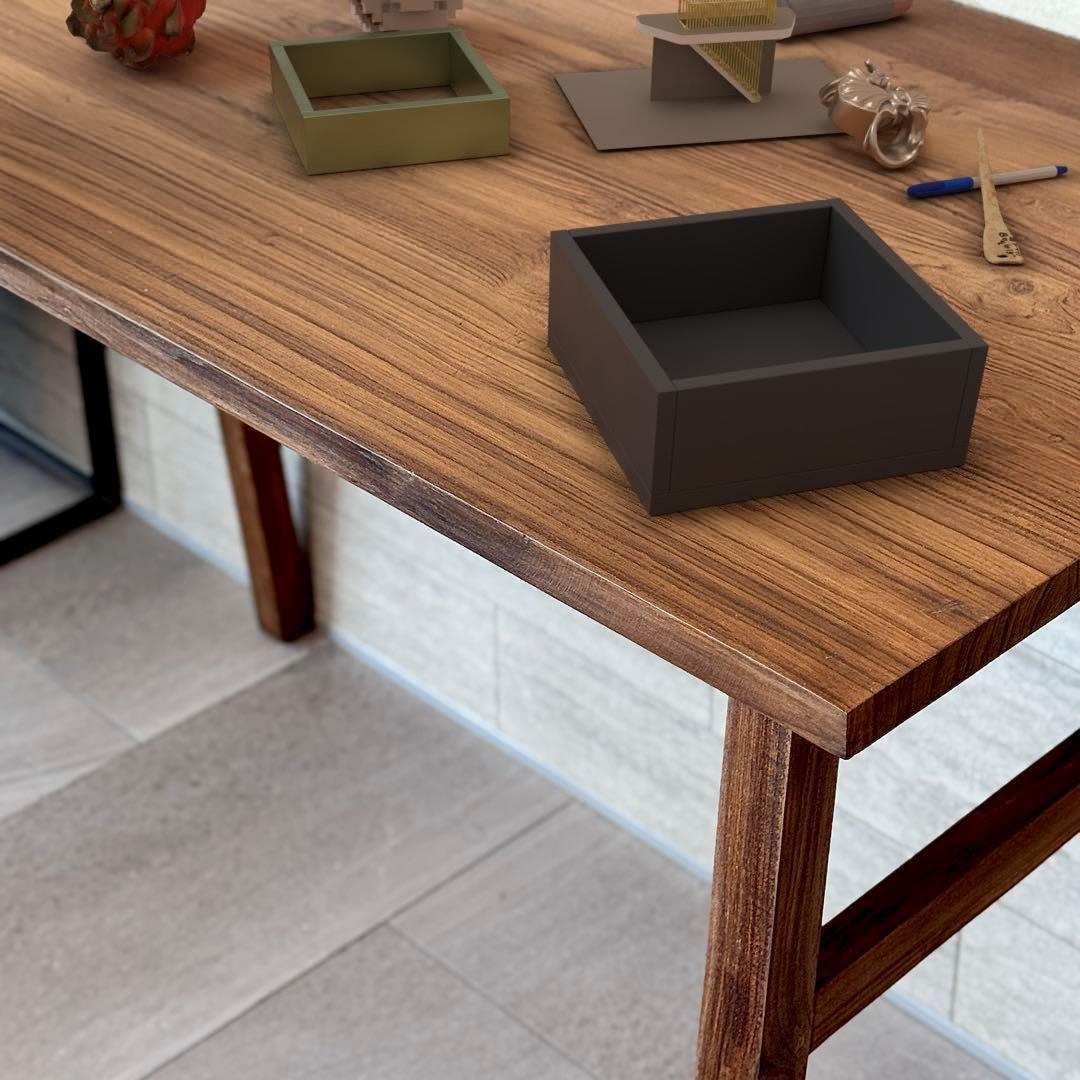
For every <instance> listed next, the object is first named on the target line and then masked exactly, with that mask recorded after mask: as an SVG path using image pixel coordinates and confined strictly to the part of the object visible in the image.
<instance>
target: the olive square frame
mask: <svg viewBox="0 0 1080 1080" xmlns="http://www.w3.org/2000/svg"><path fill="white" fill-rule="evenodd" d="M267 44H268V56H269V69H270V70H269V71H270V82H271V94H272V95H271V97H272V98H273V101H274V102H275V106H276V108H277V110H278V112H279V114H280V116H281V118H282V121H283V123H284V126H285V128H286V130H287V132H288V135H289V136H290V139H291V141H292V143H293V144H292V145H293V146H294V148H295V151H296V152H297V155H298V157H299V159H300V162H301V164H302V166H303V169H304V172H305V173H306V175H307V176H312V175H313V176H315V175H322V174H323V175H324V174H333V173H342V172H343V173H344V172H351V171H360V170H361V171H362V170H371V169H380V168H391V167H401V166H409V165H419V164H427V163H436V162H448V161H457V160H465V159H467V160H468V159H475V158H485V157H486V158H487V157H495V156H503V155H505V156H506V155H510V152H511V151H510V149H511V148H510V147H511V145H510V144H511V140H510V139H511V97H510V95H509V94H508V93H507V91H506V90H505V88H504V87H503V86H502V84H501V83H500V82H499V80H498V79H497V78H496V76H495V75H494V74H493V72H492V71H491V69H490V68H489V67H488V65H487V64H486V62H485V61H484V59H483V58H482V57H481V56H480V54H479V53H478V51H476V49H475V48H474V46H473V44H472V43H471V42H470V41H469V39H468V37H466V35H465V34H464V33H463V31H462V30H461V28H460V27H459V26H458V25H457V26H456V25H455V26H448V27H443V28H431V29H419V30H407V31H395V32H383V33H374V32H373V33H372V32H371V33H363V34H362V33H360V34H352V35H350V34H349V35H338V36H337V35H336V36H325V37H314V38H302V39H291V40H281V41H279V40H278V41H268V43H267ZM443 86H450V87H451V89H452V90H453V92H454V94H455V95H456V96H455V97H447V98H436V99H427V100H417V101H406V102H405V101H404V102H395V103H384V104H373V105H364V106H354V107H353V106H352V107H343V108H342V107H341V108H332V109H321V110H315V109H314V107H313V105H312V103H311V101H310V99H313V98H324V97H335V96H344V95H345V96H347V95H356V94H367V93H377V92H388V91H389V92H391V91H398V90H399V91H400V90H408V89H409V90H410V89H420V88H431V87H432V88H433V87H443Z"/></svg>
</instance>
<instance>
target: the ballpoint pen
mask: <svg viewBox="0 0 1080 1080" xmlns="http://www.w3.org/2000/svg"><path fill="white" fill-rule="evenodd" d="M1068 171H1069V169H1068V166H1065V165H1063V166H1062V165H1050V166H1044V167H1036V168H1029V169H1022V170H1013V171H1007V172H1000V173H993V174H992V173H991V175H992V180H993V183H994V186H999V185H1007V184H1014V183H1022V182H1028V181H1034V180H1035V181H1037V180H1041V179H1050V178H1055V177H1059V176H1061V175H1064V174H1067V173H1068ZM979 188H981V183H980V177H979V175H977V176H964V177H958V178H950V179H949V178H948V179H943V180H936V181H928V182H927V181H926V182H921V183H917V184H913V185H909V186H908V187H907V190H906V194H907V195H908V196H909V197H911V198H912V197H913V198H914V197H917V198H918V197H928V196H935V195H936V196H937V195H942V194H944V195H945V194H950V193H959V192H961V193H962V192H964V191H965V192H966V191H971V190H973V189H979Z"/></svg>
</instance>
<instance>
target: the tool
mask: <svg viewBox="0 0 1080 1080" xmlns="http://www.w3.org/2000/svg"><path fill="white" fill-rule="evenodd" d="M984 136H985V135H984V131H983V129H982V128H980V127H979V128H978V129H977V147H978V176H979V177H980V183H981V187H980V189H981V197H982V207H983V208H982V209H983V217H984V224H985V226H984V230H983V234H982V235H983V236H982V243H983V244H982V249H983V255H984V258H985V260H987V262H989V263H990V264H1010V265H1011V264H1012V265H1014V264H1019V265H1020V264H1023V263H1024V261H1025V259H1024V257H1023V256H1022V254H1021V251H1020V248H1019V246H1018V243H1017V241H1016V239H1015V238H1014V236H1013V234H1012V233H1011V232H1010V230H1009V229H1008V227H1007V225H1006V223H1005V222H1004V220H1003V216H1002V213H1001V210H1000V207H999V202H998V201H999V200H998V195H997V190H996V185H994V183H993V180H992V170H991V169H992V168H991V165H990V160H989V153H988V151H987V149H988V148H987V143H986V139H985V137H984ZM999 256H1006V257H999Z"/></svg>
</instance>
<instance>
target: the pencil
mask: <svg viewBox="0 0 1080 1080" xmlns="http://www.w3.org/2000/svg"><path fill="white" fill-rule="evenodd" d="M913 3H914V0H777V7H787V8H790V9H791V10H792V11H793V12H794V13H795V14H796V16H795V24H794V27H793V30H792V33H791V36H790V37H792V36H797V35H799V36H800V35H803V34H810V33H811V34H812V33H816V32H821V31H822V32H823V31H829V30H834V29H835V30H836V29H841V28H847V27H853V26H860V25H868V24H872V23H879V22H885V21H887V20H889V19H894V18H897V17H900V16H902V15H903V14H905V13H907V12H908V11H909V10H910V9H911V8H912V6H913ZM763 8H764V6H763ZM782 40H785V38H782V39H776V42H778V41H782Z"/></svg>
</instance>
